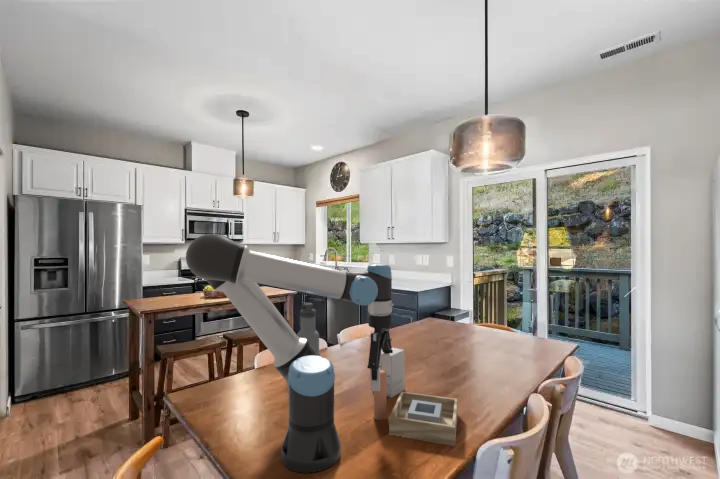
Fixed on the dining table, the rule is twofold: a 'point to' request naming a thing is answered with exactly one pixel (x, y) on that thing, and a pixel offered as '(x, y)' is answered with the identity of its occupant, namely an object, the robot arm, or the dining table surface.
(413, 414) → the socket
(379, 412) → the peg
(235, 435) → the dining table surface
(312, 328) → the water bottle
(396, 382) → the supplement box
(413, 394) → the crate
